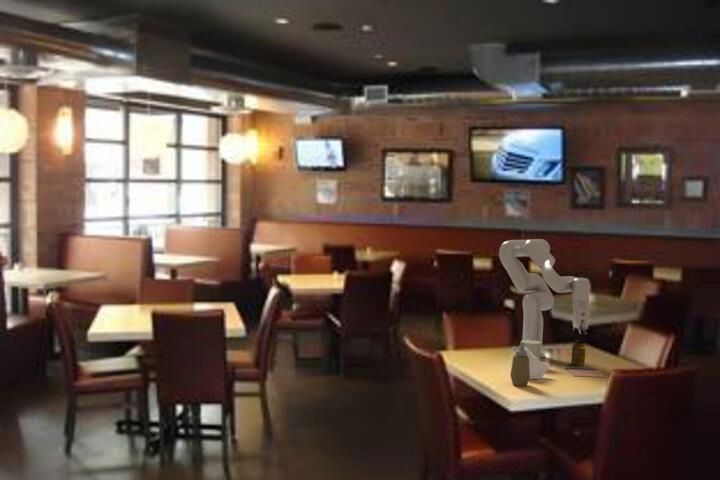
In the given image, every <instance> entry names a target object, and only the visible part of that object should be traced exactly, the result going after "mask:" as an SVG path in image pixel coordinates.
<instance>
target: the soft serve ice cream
mask: <svg viewBox="0 0 720 480" xmlns="http://www.w3.org/2000/svg"><path fill="white" fill-rule="evenodd" d="M524 350H525V351H527V355H526V356H528V357H529V368H530V379H529V381H530V380H541V379H542V378H544V376H545V374H546V372H547V371H548V369H549V364H548V363H544V362H541V359H540V360H539V359H538V358H537V357H536V356H534V355H533V353H531V352H530V351H529V350H528V348H526V347H524Z"/></svg>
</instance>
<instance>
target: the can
mask: <svg viewBox="0 0 720 480" xmlns="http://www.w3.org/2000/svg"><path fill="white" fill-rule="evenodd" d="M520 342H523V343H524V347H526V348H528V350H529V351H530V352H531V353H533V355H534V356H536V357H537V358H538V359H539V360H540V361H541V358H540V348H541V342H539V341H535V340H523V339H522V340H521V341H520Z"/></svg>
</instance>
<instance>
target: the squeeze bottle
mask: <svg viewBox="0 0 720 480" xmlns="http://www.w3.org/2000/svg"><path fill="white" fill-rule="evenodd" d="M518 347H519V349H518V350H516V351H515V355H513V356H512V362H511V370H510V376H509V377H510V380H511V382H512V383H511V384H512V385H514V386H515V387H526V386H527V385H528V384H529V382H530V380H531V379H530V368H529V357H528V356H526V355H527V351H525V350H524V343H523V342H521V341H520V343H519V346H518ZM529 379H530V380H529Z"/></svg>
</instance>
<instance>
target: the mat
mask: <svg viewBox="0 0 720 480" xmlns="http://www.w3.org/2000/svg"><path fill="white" fill-rule="evenodd" d="M566 371H567V372H569V373H570V374H571V375H572V377H583V378H584V377H586V378H604V377H606V376H605V375H604V374H603V373H602V372H600V371H599V370H597V369H596V370H574V369H566Z"/></svg>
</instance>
